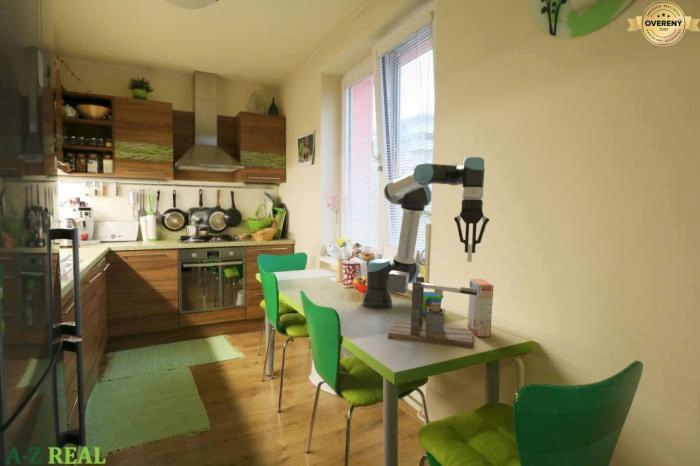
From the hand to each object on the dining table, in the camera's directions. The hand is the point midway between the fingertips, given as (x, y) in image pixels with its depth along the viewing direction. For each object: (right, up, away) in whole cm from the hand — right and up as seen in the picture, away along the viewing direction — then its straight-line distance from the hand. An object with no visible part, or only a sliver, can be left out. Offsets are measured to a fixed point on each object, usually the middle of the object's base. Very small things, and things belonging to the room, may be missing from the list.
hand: (469, 261), depth 147 cm
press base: (-14, -30, +5) cm, 33 cm away
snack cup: (-7, -28, +37) cm, 47 cm away
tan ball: (-12, -21, +4) cm, 24 cm away
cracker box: (+8, -30, +13) cm, 34 cm away
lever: (-14, -14, +5) cm, 20 cm away
